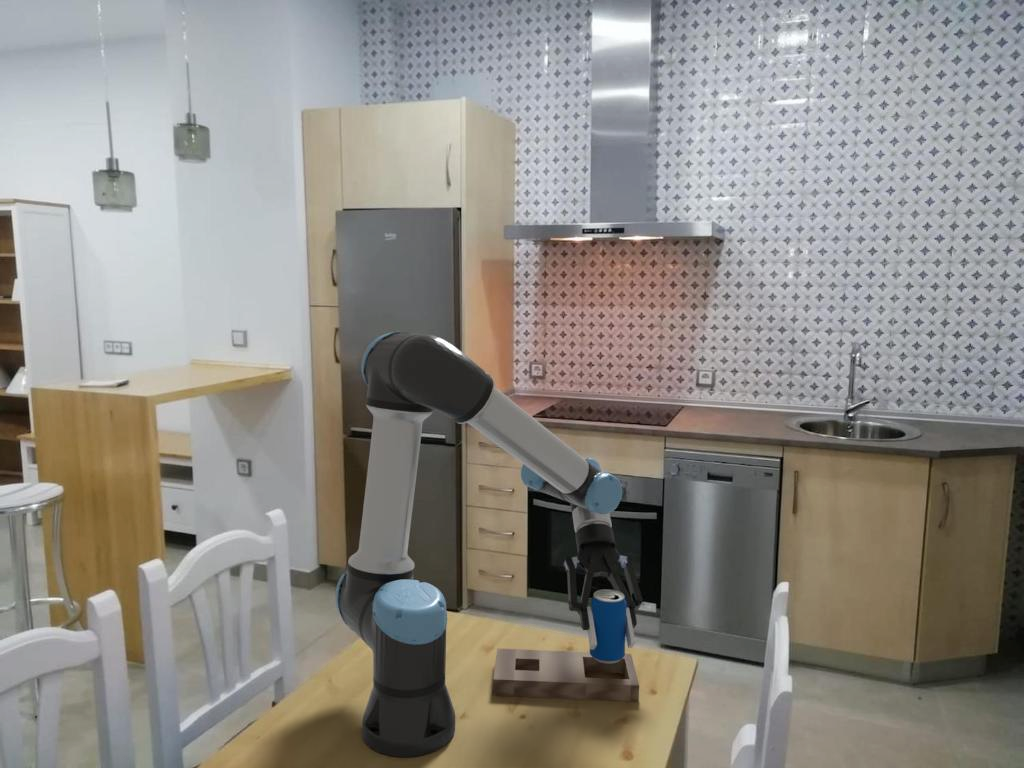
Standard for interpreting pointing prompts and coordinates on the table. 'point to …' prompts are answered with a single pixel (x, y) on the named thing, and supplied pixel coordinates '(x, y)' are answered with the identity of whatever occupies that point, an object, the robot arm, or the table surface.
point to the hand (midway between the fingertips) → (612, 645)
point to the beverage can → (609, 625)
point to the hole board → (562, 675)
